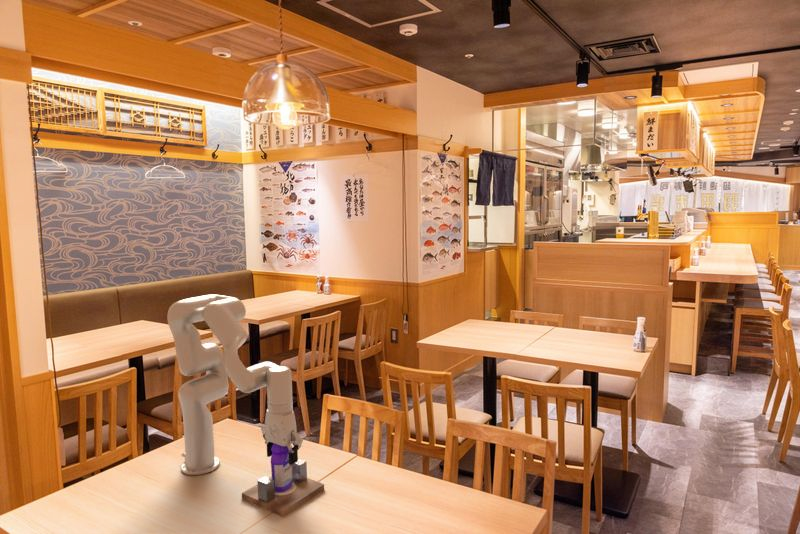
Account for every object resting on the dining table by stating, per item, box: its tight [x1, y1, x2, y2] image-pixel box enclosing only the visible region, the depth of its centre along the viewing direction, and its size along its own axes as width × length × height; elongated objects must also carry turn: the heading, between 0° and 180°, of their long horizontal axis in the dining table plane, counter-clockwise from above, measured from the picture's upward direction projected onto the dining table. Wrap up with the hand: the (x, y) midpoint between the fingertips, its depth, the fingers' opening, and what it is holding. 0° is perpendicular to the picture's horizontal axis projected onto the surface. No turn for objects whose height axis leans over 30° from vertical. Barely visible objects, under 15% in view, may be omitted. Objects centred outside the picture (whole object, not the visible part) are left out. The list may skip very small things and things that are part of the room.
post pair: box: [256, 458, 308, 503], centre depth 169 cm, size 4×17×6 cm, turn 146°
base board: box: [241, 475, 325, 518], centre depth 170 cm, size 18×18×2 cm
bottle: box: [270, 443, 293, 492], centre depth 169 cm, size 7×6×17 cm
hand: (282, 459), depth 169 cm, fingers open, 9 cm apart
